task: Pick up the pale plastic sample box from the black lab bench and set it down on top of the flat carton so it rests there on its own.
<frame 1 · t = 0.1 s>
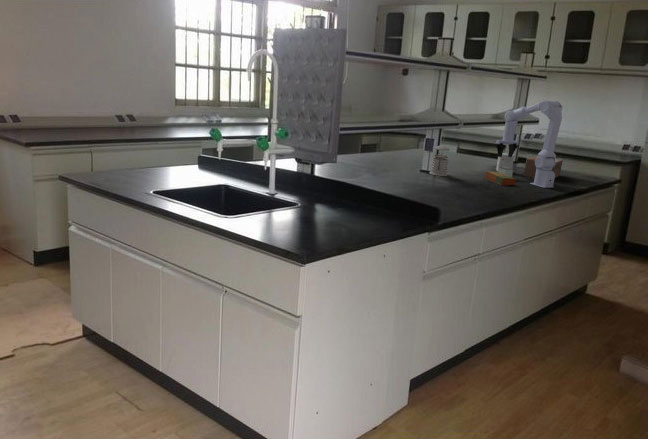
hand: (504, 156, 325), 10 cm above the countertop, tool pointing down, fingers open, 7 cm apart
carton: (499, 183, 304), on the countertop
tissue box cover: (541, 176, 337), on the countertop
french press: (438, 174, 308), on the countertop
sample box: (504, 178, 316), on the countertop
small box: (503, 172, 337), on the countertop
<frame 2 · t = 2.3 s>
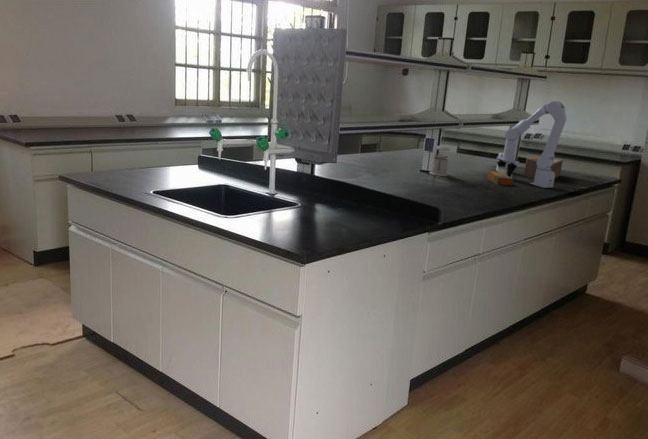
hand: (504, 175, 316), 1 cm above the countertop, tool pointing down, fingers closed on sample box, 5 cm apart
sample box: (504, 178, 316), on the countertop, touching gripper
when the fingers open (6 cm above the countertop, at t = 5.8 s): sample box stays where it is, resting on carton.
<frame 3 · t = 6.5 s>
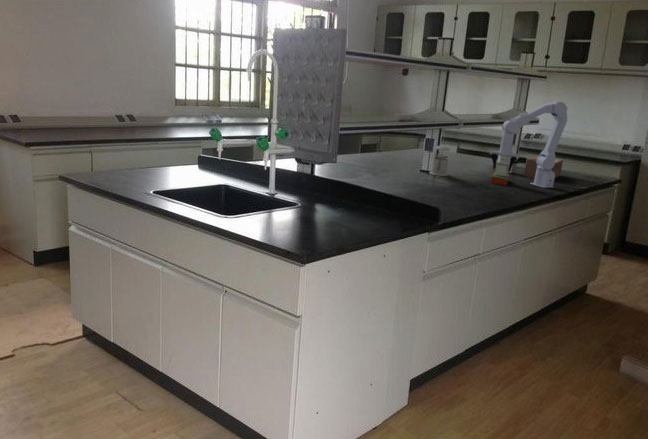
hand: (501, 169, 302), 6 cm above the countertop, tool pointing down, fingers open, 7 cm apart
carton: (498, 183, 304), on the countertop, touching sample box
sample box: (500, 174, 303), point 4 cm above the countertop, touching carton
everything else where it was.
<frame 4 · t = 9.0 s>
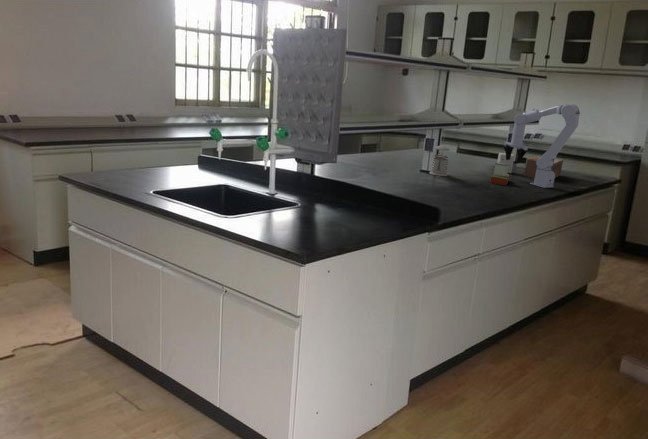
hand: (513, 161, 313), 10 cm above the countertop, tool pointing down, fingers open, 7 cm apart
at the end: sample box inside the target area on the carton (0.3 cm from its centre), point 4.5 cm above the carton's base; sample box tilted 0°; sample box touching nothing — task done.
